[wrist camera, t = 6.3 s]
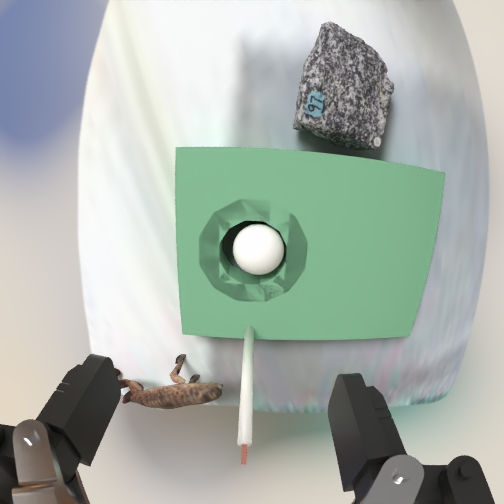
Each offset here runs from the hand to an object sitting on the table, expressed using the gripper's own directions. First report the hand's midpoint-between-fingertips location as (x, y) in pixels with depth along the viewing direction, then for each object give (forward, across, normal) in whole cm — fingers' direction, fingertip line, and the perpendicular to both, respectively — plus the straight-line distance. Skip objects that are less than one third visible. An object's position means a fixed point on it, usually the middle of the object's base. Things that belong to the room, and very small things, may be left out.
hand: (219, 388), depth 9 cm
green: (+17, -6, 0) cm, 18 cm away
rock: (+17, -7, -13) cm, 23 cm away
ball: (+15, -1, 0) cm, 15 cm away
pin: (+14, -1, +8) cm, 16 cm away
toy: (+17, +8, +16) cm, 25 cm away
